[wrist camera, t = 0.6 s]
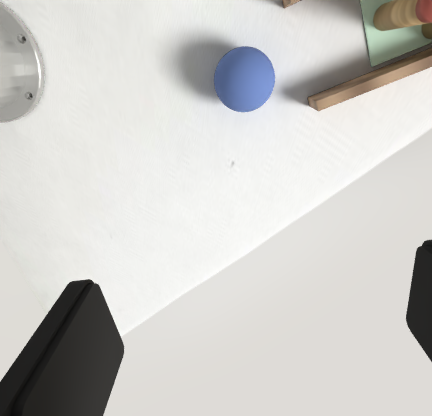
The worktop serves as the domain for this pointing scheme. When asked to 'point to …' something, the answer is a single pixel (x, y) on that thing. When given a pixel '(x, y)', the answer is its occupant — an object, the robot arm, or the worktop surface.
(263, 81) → the ball
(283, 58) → the worktop surface
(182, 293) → the worktop surface
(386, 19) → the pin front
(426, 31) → the pin
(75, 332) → the robot arm
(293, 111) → the worktop surface
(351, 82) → the lane
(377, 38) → the pin deck mark
